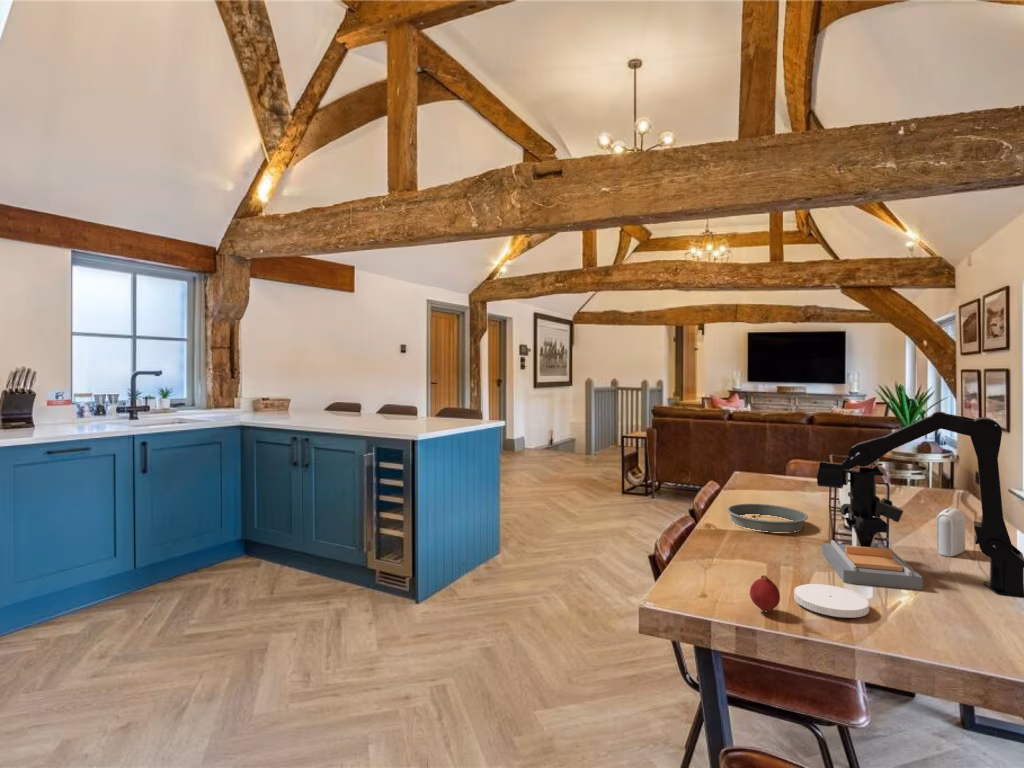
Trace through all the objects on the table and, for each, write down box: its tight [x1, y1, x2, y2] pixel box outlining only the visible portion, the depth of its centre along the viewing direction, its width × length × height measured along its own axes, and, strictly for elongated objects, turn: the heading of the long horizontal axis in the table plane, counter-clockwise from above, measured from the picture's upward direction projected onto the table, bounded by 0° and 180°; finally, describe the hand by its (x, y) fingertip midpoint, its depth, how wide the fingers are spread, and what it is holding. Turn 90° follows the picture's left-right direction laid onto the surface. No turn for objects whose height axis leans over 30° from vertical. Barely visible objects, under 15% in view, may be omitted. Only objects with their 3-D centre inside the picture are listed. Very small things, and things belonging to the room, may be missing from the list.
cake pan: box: [726, 503, 809, 533], centre depth 180 cm, size 25×25×4 cm
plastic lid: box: [793, 583, 870, 619], centre depth 116 cm, size 14×14×2 cm
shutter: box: [845, 544, 903, 571], centre depth 133 cm, size 8×10×3 cm
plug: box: [851, 525, 875, 548], centre depth 141 cm, size 4×4×8 cm
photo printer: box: [936, 507, 966, 558], centre depth 150 cm, size 10×4×12 cm, turn 123°
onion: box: [749, 574, 781, 612], centre depth 114 cm, size 6×6×8 cm
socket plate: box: [822, 539, 923, 591], centre depth 137 cm, size 22×16×4 cm
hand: (863, 549), depth 141 cm, fingers closed on plug, 4 cm apart
